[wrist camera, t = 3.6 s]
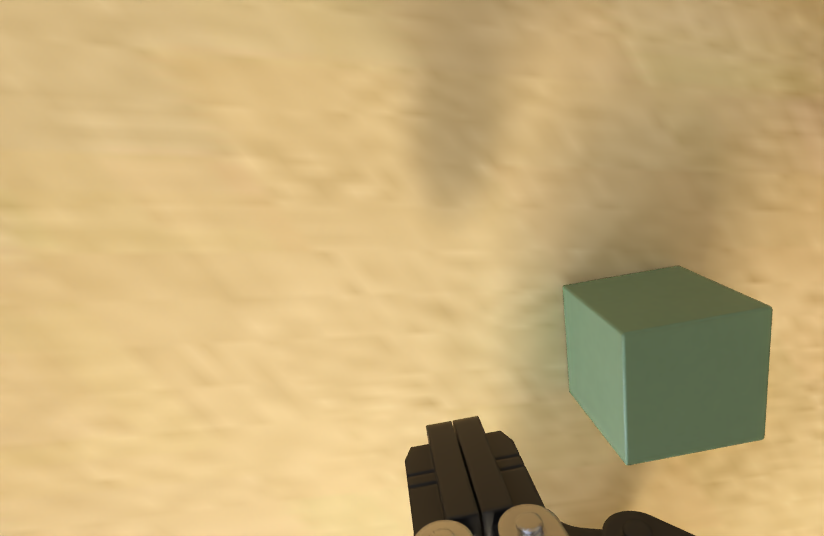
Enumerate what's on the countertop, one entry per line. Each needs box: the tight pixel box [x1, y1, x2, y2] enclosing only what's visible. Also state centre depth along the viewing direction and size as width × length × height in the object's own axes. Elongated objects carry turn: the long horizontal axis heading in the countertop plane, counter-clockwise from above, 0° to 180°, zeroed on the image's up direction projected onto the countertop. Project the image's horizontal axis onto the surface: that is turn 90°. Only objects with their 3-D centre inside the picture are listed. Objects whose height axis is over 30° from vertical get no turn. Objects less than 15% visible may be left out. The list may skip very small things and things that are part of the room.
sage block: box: [563, 266, 772, 465], centre depth 17 cm, size 4×4×4 cm
